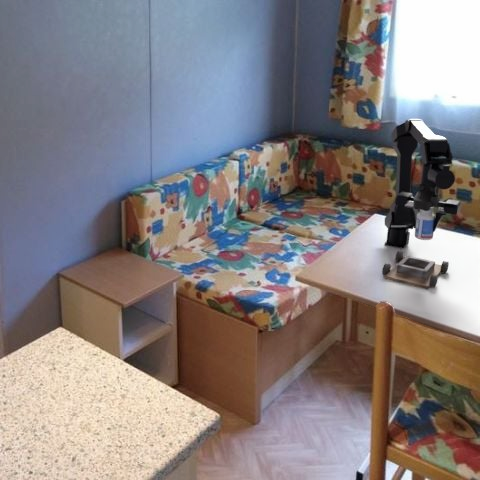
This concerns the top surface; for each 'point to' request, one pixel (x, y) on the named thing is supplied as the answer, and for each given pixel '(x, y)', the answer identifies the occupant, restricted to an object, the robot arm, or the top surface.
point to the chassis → (414, 271)
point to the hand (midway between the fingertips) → (424, 229)
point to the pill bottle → (425, 224)
